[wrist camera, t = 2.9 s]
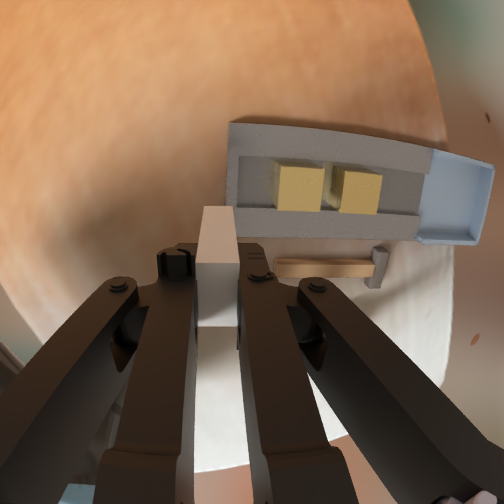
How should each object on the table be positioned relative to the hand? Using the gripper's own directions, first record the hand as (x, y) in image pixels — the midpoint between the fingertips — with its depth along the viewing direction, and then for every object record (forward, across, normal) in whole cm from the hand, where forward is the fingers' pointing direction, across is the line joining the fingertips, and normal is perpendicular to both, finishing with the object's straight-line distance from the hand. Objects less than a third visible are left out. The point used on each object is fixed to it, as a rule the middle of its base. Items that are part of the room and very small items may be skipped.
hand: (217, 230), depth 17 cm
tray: (+15, +28, 0) cm, 32 cm away
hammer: (+15, +12, -10) cm, 22 cm away
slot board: (+15, +12, 0) cm, 19 cm away
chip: (+14, +13, 0) cm, 19 cm away
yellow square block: (+14, +7, 0) cm, 15 cm away
